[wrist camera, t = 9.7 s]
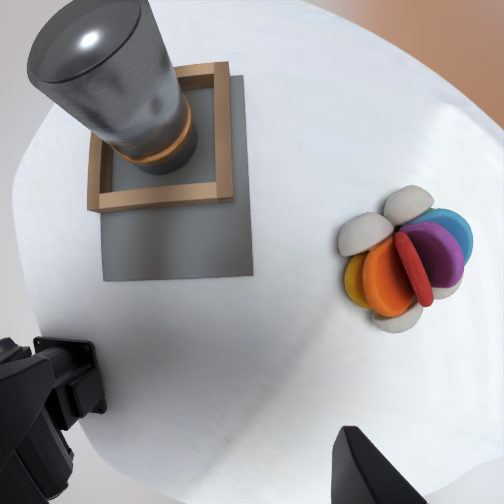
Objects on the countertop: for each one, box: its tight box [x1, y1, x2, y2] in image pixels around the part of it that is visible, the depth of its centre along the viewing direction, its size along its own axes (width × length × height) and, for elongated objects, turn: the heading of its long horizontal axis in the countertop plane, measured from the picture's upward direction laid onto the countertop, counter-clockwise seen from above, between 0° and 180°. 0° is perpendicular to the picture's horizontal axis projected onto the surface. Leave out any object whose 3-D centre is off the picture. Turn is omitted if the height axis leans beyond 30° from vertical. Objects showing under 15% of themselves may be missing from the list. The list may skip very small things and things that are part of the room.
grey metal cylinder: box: [27, 0, 198, 175], centre depth 14 cm, size 5×5×13 cm
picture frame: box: [87, 61, 253, 281], centre depth 20 cm, size 11×15×2 cm
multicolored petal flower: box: [338, 185, 473, 333], centre depth 18 cm, size 8×10×7 cm
